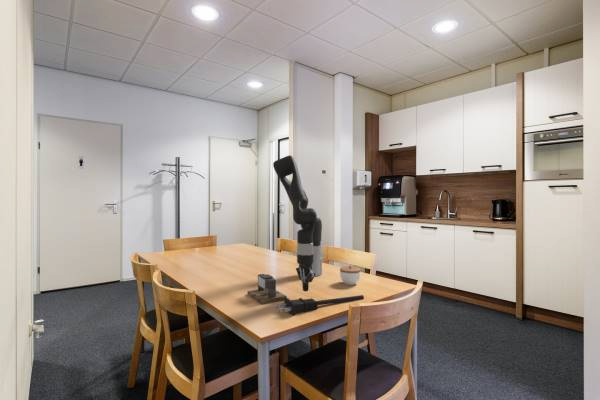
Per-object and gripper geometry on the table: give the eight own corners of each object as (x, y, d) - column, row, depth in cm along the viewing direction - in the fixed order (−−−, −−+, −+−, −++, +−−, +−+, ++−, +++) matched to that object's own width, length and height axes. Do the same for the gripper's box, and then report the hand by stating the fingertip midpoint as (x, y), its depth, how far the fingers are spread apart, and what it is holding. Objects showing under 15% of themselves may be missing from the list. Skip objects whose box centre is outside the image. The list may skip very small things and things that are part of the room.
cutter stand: (247, 294, 148) (247, 275, 148) (270, 290, 154) (270, 271, 154) (261, 304, 135) (261, 283, 134) (286, 299, 141) (286, 279, 141)
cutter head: (258, 291, 146) (258, 275, 146) (268, 289, 149) (268, 273, 149) (264, 295, 140) (264, 278, 140) (275, 293, 143) (274, 277, 143)
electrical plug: (273, 310, 128) (273, 298, 128) (356, 299, 147) (356, 289, 147) (281, 318, 120) (282, 305, 120) (368, 305, 139) (369, 294, 139)
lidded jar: (361, 281, 170) (361, 263, 170) (359, 287, 160) (359, 268, 160) (341, 279, 173) (341, 262, 173) (338, 285, 163) (338, 267, 163)
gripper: (290, 251, 146) (290, 288, 147) (306, 256, 135) (306, 296, 136) (304, 249, 150) (304, 285, 151) (320, 254, 139) (320, 293, 140)
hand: (305, 290), depth 143 cm, fingers closed
